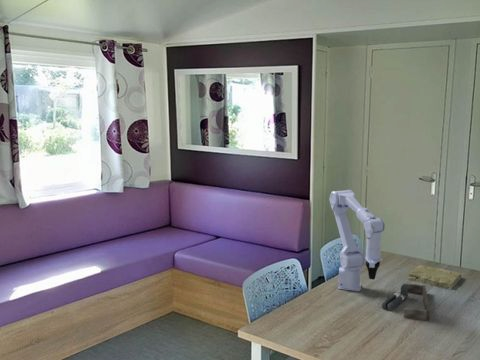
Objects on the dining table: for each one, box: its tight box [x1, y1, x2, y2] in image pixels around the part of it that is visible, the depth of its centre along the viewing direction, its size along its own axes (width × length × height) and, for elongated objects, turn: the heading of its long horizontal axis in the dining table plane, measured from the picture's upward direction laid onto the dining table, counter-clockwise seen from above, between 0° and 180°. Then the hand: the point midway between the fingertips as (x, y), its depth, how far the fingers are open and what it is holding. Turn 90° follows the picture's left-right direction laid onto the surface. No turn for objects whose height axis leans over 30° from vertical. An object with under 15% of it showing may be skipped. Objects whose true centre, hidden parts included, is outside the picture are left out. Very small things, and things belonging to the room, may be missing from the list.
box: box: [403, 282, 430, 321], centre depth 201 cm, size 9×28×4 cm, turn 163°
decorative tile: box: [407, 264, 462, 290], centre depth 230 cm, size 19×20×4 cm
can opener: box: [381, 283, 410, 312], centre depth 203 cm, size 19×5×6 cm, turn 140°
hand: (372, 278), depth 205 cm, fingers closed
